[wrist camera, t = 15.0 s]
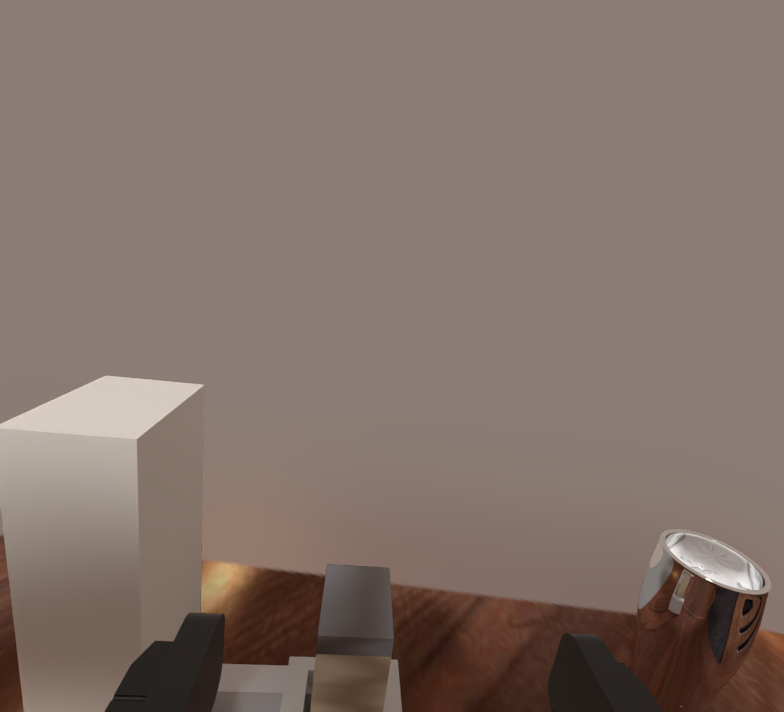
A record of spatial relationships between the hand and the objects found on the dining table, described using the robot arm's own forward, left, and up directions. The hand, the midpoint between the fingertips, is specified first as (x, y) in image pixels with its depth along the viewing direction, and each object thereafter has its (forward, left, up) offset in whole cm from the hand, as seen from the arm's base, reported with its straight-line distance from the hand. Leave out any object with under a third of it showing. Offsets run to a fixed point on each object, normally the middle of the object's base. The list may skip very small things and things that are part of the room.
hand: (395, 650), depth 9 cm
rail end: (0, +12, -24) cm, 27 cm away
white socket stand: (-6, +13, -24) cm, 28 cm away
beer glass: (+26, +16, -25) cm, 39 cm away
